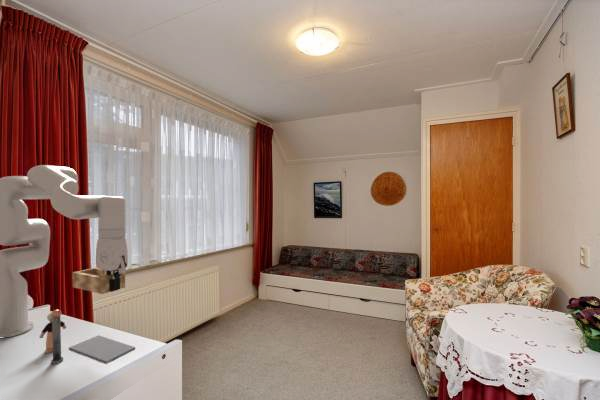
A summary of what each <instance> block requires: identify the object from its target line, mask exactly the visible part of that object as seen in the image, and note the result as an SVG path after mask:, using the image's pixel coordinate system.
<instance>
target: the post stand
mask: <svg viewBox="0 0 600 400" xmlns="http://www.w3.org/2000/svg"><path fill="white" fill-rule="evenodd" d="M51 312H52V313H51ZM51 312H50V313H51V317H52V337H53V351H52V359H51V360H50V364H52V365H56V364H60V363H62V362H63V361H64V357H63V356H62V337H61V335H62V334H61V333H62V332H61V330H62V329H61V328H62V327H61V324H60V321H61V316H62V310H60V309H54V310H52V311H51Z"/></svg>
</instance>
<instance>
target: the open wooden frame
mask: <svg viewBox="0 0 600 400" xmlns="http://www.w3.org/2000/svg"><path fill="white" fill-rule="evenodd" d="M115 272H116V271H115ZM110 279H111V275H109V276H105V277H104V272H103V271H102V270H100V269H98V268H97V267H92V268H87V269H83V270H78V271H73V272H72V288H74V289H79V290H83V291H88V292H92V293H97V294H101V295H104V294H108V293H111V292H110V287H109V280H110ZM124 288H126V273H123V274H122V275H121V277H120V289H119V290H121V289H124Z"/></svg>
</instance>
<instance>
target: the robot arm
mask: <svg viewBox="0 0 600 400" xmlns="http://www.w3.org/2000/svg"><path fill="white" fill-rule="evenodd" d="M78 182H79V176H78V173H77V172H76V171H75V170H74V168H70V167H68V166H59V165H50V164H40V165H36V166H33V167H31V168H30V169H29V170H28V171H27V174H26V176H25V175H11V176H10V175H9V176H8V175H7V176H3V177H0V245H1V246H5V247H6V246H17V247H10V248H5V249H0V337H8V338H13V337H15V336H18V335H19V336H20V335H21V334H24V333H27V332H28V331H31V330H32V329H33V328H34V325H35V324H34V322H32V321H29V306H28V305H29V299H28V298H29V297H28V281H27V280H26V278H25V277H24V276H22V275H21V274H20V273H22V272H23V273H24V272H26V271H31V270H36V269H41V268H42V267H45V265H47V263H48V261H49V256H50V241H51V227H50V225H49V223H48V222H47V221H46V220H44V219H43V218H37V217H36V218H35V217H34V218H29V217H28V216H29V209H28V208H29V207H28V205H27V204H26V203H25V201H24V200H50V204H51V206H52V208H53V209H54V210H55V211H56V212H57V213H59V214H61V215H62V216H64V217H66V218H68V219H72V220H85V219H97V221H98V223H97V226H98V230H97V231H98V238H97V241H96V249H95V251H96V252H95V268H98V269H100V270H102V271H103V272H104V277H105V276H109V275H111V279H110V280H109V287H110V292H109V293H113V292H115V291H116V292H117V291H120V290H121V289H120V277H121V275H122V274H123V273H125V274H126V273H127V269H126V268H127V267H128V264H129V263H128V262H129V260H128V259H129V255H128V253H129V252H128V245H127V239H126V235H127V234H126V230H127V229H126V199H125V197H123V196H120V195H118V196H117V195H115V196H114V195H95V194H94V195H93V194H92V195H78V192H79V183H78ZM25 244H26V246H25ZM27 244H28V245H27ZM18 245H24V246H18ZM115 271H116V272H115Z"/></svg>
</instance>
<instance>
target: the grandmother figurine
mask: <svg viewBox="0 0 600 400" xmlns="http://www.w3.org/2000/svg"><path fill="white" fill-rule="evenodd" d="M51 313H52V311H51V312H49V313H48V315H47V316H46V318H47V320H48V323H47V324H45V327H44V328H43V329H42V331H41V333H40V335H39V338H40V339H43V338H44V336H45V335H46V334H47V335H46V340H45V350H44V352H45V353H46V354H49V353H51V352H52V353H53V337H52V317H51ZM60 324H61V328H62V329H63V330H65V329H66V328H67V326H66V324H65V322H64V321H62V320H60Z"/></svg>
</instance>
